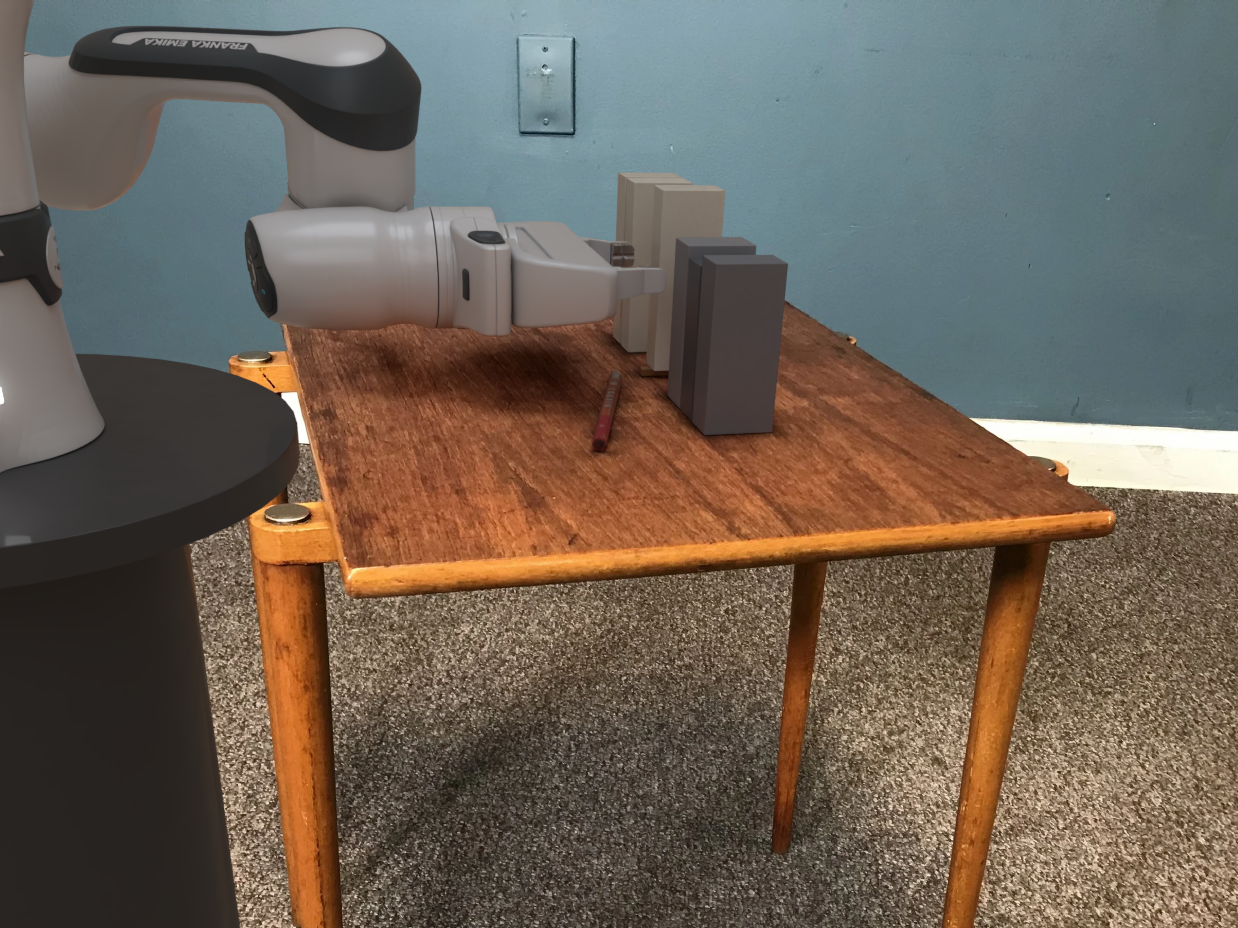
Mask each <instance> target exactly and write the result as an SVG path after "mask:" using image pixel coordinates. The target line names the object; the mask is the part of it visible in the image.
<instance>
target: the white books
mask: <svg viewBox="0 0 1238 928" xmlns="http://www.w3.org/2000/svg"><path fill="white" fill-rule="evenodd" d="M655 185H694V183H693V182H692V181H690V180H688V179H686V178H684V177H682V176H681V175H678V174H677V173H675V172H620V171H619V172H617V191H616V192H617V193H616V194H617V195H616V220H615V221H616V223H615V225H616V226H615V241H626V242H628V243H630V244H631V245H632V246H633V247H634V263H633V265H632V266H631V267H621V268H639V265H648V266H651V250H652V228H653V206H654V186H655ZM648 315H649V294H641V295H637V296H634V297H630V298H627V299H617V312H616V315H615V316H614V317H612V338H614V340H616V341H617V343H618V344H619V345H620V346H621V347H622V348H623V349H624V350H625V351H626V352H627V353H647V337H648ZM638 374H639V375H640V376H641V377H655V376H669V371H654V370H653V369H652V368H651V367H650V366H649V365H647V366H645V365H644V366H639V367H638Z"/></svg>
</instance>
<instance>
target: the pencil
mask: <svg viewBox="0 0 1238 928" xmlns="http://www.w3.org/2000/svg"><path fill="white" fill-rule="evenodd" d="M622 381H623V376H622V373H621V371H620V369H619V368H618V367H617V368H615V369H613V370H612V371H611V372H610V373H609V376H608V379H607V383H606V386H605V391H604V394H603V398H602V402H601V406H600V410H599V414H598V418H597V421H596V425H595V430H594V433H593V437H592V441H591V446H592V448H593V449H594V451H599V452H603V451H604V450H605V448H606V446H607V444H608V440H609V436H610V432H611V427H612V423H613V419H614V415H615V410H616V408H617V407H616V406H617V402H618V398H619V393H620V389H621V385H622Z"/></svg>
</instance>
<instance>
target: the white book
mask: <svg viewBox="0 0 1238 928" xmlns="http://www.w3.org/2000/svg"><path fill="white" fill-rule="evenodd" d="M725 198H726V190H725V189H723V188H721V187H720V186H718V185H716V184H714V185H713V184H693V185H655V186H654V206H653V228H652V250H651V266H652V265H657V266H658V267H660V268H661V269H663V270H664V271H665V272H666V286H665V290H664V291H663V292H662V293H652V294H649V315H648V337H647V352H646V362H645V363H646V364H647V366H650V367H651V368H652V369H653V370H654V371H669V358H670V340H671V321H672V303H673V285H674V266H675V248H676V238H677V237H723V227H724V212H725V200H726V199H725Z"/></svg>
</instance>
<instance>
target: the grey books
mask: <svg viewBox="0 0 1238 928" xmlns="http://www.w3.org/2000/svg"><path fill="white" fill-rule="evenodd" d="M788 270H789V262H786V261H785V260H783V259H781V258H779V257H778V256H775V255H774V254H757V245H756V244H755V243H753V242H752V241H750V240H748V239H746V238H745V237H743V236H722V237H677V238H676V248H675V266H674V285H673V303H672V321H671V340H670V358H669V375H667V376H668V379H667V397H668V398H669V399H670V400H671V401H672V402H673V403H674V404H675V406H676V407H678V409H679V410H680V411H681V412H682V413H683V414H684V416H685V417H686V418H687V419H688V420H689V421H690V422H691V423H692V424H693V425H694V426H695V427H696V429H698V430H699V431H700V432H701V433H702V435H704V436H717V435H742V434H743V435H745V434H763V433H764V434H765V433H767V434H768V433H773V427H774V417H775V416H774V415H775V407H776V406H775V405H776V397H777V384H778V373H779V365H780V364H779V363H780V355H781V344H782V332H783V321H784V310H785V302H786V301H785V300H786V290H787V282H788V281H787V280H788Z"/></svg>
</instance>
